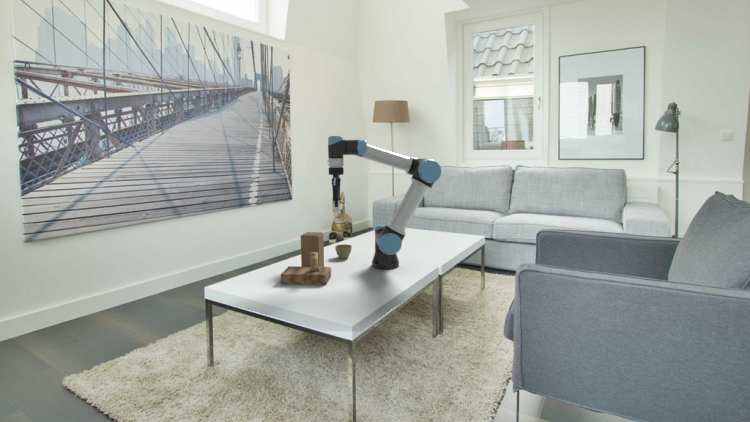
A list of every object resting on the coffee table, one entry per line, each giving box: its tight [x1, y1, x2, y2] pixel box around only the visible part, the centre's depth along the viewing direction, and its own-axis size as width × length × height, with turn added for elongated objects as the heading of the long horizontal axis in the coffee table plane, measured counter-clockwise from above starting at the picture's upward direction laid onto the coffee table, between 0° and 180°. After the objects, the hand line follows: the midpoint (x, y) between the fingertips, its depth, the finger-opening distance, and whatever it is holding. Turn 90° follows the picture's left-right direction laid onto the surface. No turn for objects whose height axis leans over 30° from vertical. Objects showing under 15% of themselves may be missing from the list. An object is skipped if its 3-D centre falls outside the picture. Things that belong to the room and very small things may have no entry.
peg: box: [310, 252, 318, 272], centre depth 215 cm, size 4×4×14 cm
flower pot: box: [334, 243, 353, 260], centre depth 259 cm, size 10×10×7 cm
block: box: [300, 231, 325, 267], centre depth 233 cm, size 10×10×20 cm
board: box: [280, 265, 332, 286], centre depth 216 cm, size 22×14×5 cm, turn 86°
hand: (336, 213), depth 221 cm, fingers closed
